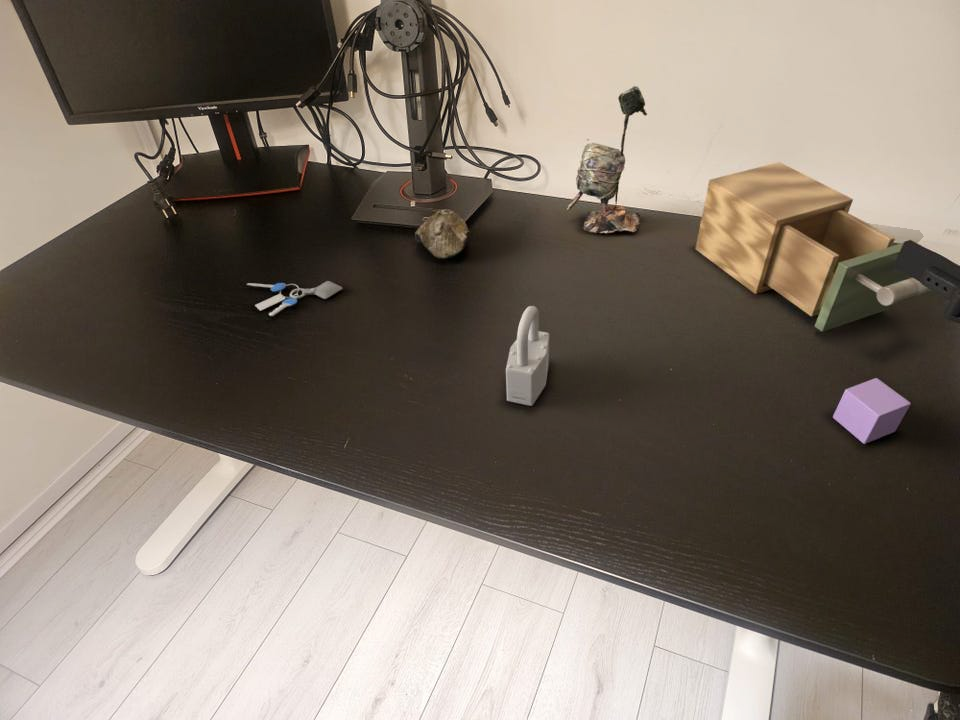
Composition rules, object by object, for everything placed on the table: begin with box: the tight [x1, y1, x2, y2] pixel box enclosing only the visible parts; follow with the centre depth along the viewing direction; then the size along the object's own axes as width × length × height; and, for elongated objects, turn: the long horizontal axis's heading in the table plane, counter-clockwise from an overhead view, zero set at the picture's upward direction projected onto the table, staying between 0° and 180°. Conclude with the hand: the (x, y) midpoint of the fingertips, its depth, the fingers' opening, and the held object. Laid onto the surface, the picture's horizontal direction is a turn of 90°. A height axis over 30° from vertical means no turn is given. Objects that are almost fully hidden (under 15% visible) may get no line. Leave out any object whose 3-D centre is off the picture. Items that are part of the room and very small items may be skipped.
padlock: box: [505, 305, 550, 407], centre depth 66 cm, size 7×4×10 cm, turn 161°
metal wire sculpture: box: [567, 85, 648, 234], centre depth 89 cm, size 8×11×20 cm
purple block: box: [832, 377, 912, 445], centre depth 60 cm, size 4×4×4 cm
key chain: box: [246, 280, 343, 317], centre depth 83 cm, size 14×8×1 cm, turn 88°
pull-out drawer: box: [764, 209, 934, 333], centre depth 72 cm, size 16×10×9 cm, turn 22°
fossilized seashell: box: [414, 209, 471, 260], centre depth 91 cm, size 8×7×10 cm
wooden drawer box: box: [694, 161, 854, 295], centre depth 82 cm, size 13×12×11 cm
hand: (954, 235), depth 59 cm, fingers open, 13 cm apart
